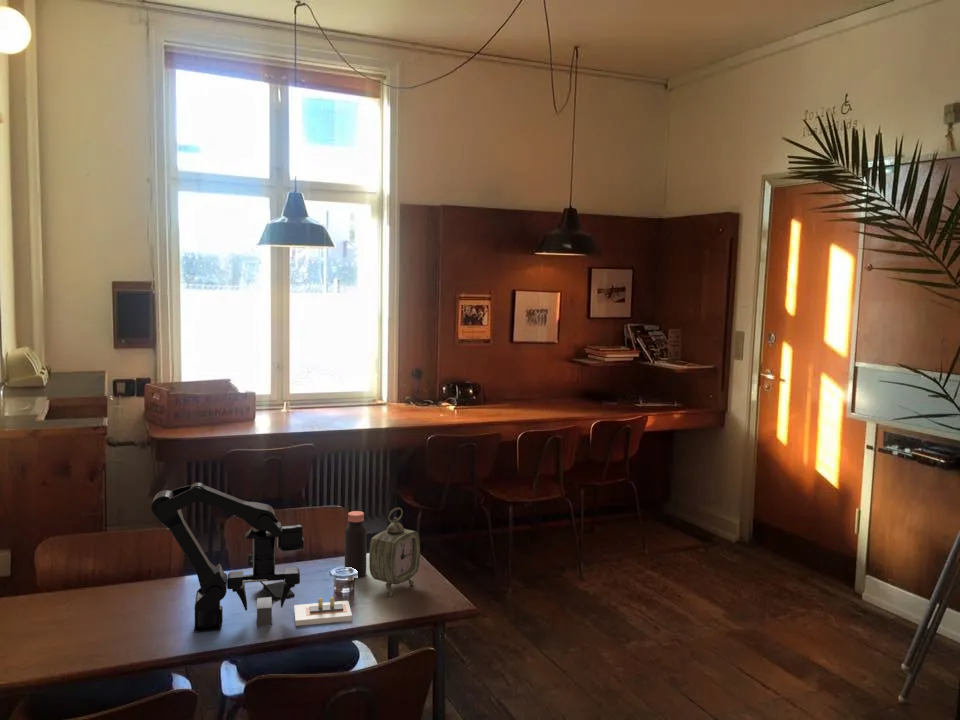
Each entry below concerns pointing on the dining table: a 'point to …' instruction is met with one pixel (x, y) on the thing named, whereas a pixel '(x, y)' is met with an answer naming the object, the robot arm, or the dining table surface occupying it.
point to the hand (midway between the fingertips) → (263, 608)
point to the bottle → (356, 543)
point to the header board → (322, 612)
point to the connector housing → (264, 611)
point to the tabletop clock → (394, 554)
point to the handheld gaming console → (276, 590)
